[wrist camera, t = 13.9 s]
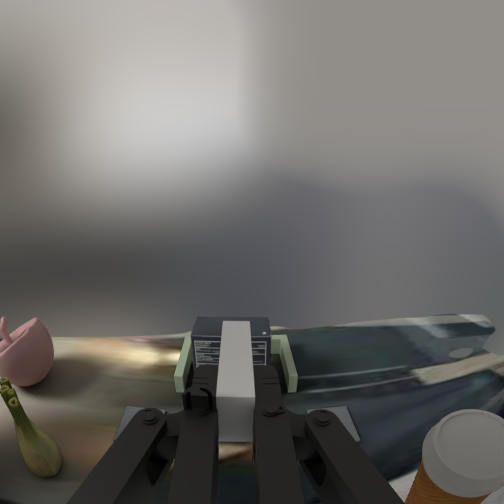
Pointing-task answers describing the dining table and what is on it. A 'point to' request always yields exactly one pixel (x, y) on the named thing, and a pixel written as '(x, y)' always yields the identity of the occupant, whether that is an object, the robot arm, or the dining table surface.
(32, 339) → the mortar and pestle
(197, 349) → the small box
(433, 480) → the disposable coffee cup
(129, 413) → the track
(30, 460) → the fennel bulb
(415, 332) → the dining table surface
